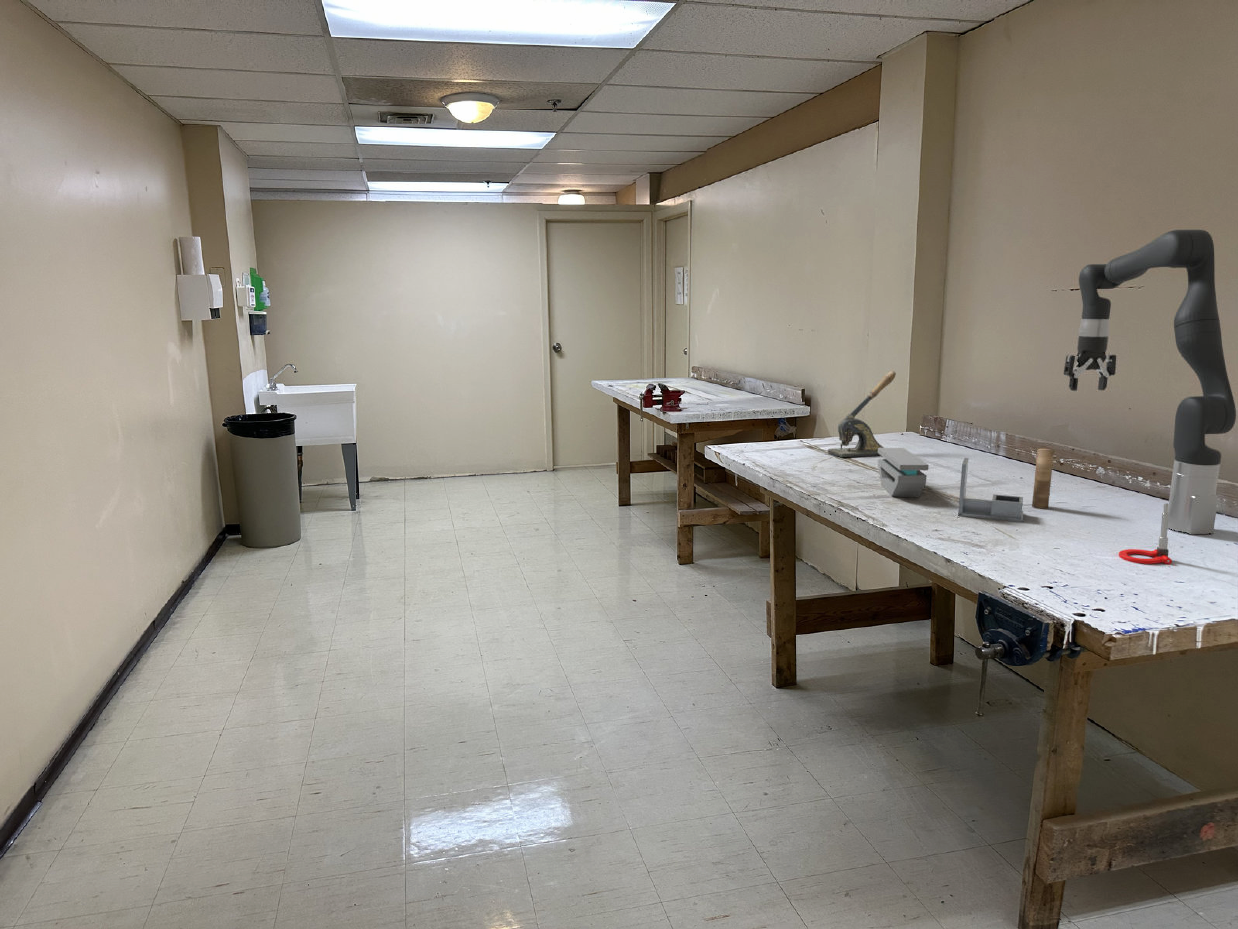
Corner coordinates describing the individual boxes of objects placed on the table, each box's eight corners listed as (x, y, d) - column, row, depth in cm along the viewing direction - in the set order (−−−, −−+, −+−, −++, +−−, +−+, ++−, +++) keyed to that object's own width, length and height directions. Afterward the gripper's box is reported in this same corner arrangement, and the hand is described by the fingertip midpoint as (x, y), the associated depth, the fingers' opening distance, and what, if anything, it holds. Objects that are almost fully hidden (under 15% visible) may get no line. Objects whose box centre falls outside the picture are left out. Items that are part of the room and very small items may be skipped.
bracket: (960, 507, 227) (964, 457, 224) (1023, 513, 221) (1027, 462, 218) (958, 515, 219) (962, 464, 216) (1022, 522, 213) (1027, 469, 210)
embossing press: (825, 453, 304) (829, 371, 297) (884, 449, 308) (888, 369, 302) (839, 459, 293) (843, 374, 287) (900, 455, 298) (905, 372, 292)
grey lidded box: (925, 502, 233) (928, 464, 231) (897, 502, 234) (900, 464, 231) (901, 482, 258) (903, 447, 255) (876, 482, 258) (878, 447, 256)
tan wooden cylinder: (1051, 508, 225) (1057, 451, 222) (1037, 509, 225) (1042, 451, 222) (1042, 505, 229) (1048, 448, 226) (1029, 505, 229) (1034, 448, 225)
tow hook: (1126, 565, 181) (1174, 566, 179) (1130, 508, 179) (1178, 508, 176) (1113, 553, 189) (1158, 554, 187) (1116, 499, 187) (1162, 499, 184)
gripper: (1077, 335, 235) (1071, 392, 239) (1125, 335, 236) (1119, 391, 240) (1062, 334, 243) (1056, 389, 246) (1108, 333, 244) (1102, 388, 247)
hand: (1087, 390), depth 243 cm, fingers open, 8 cm apart
